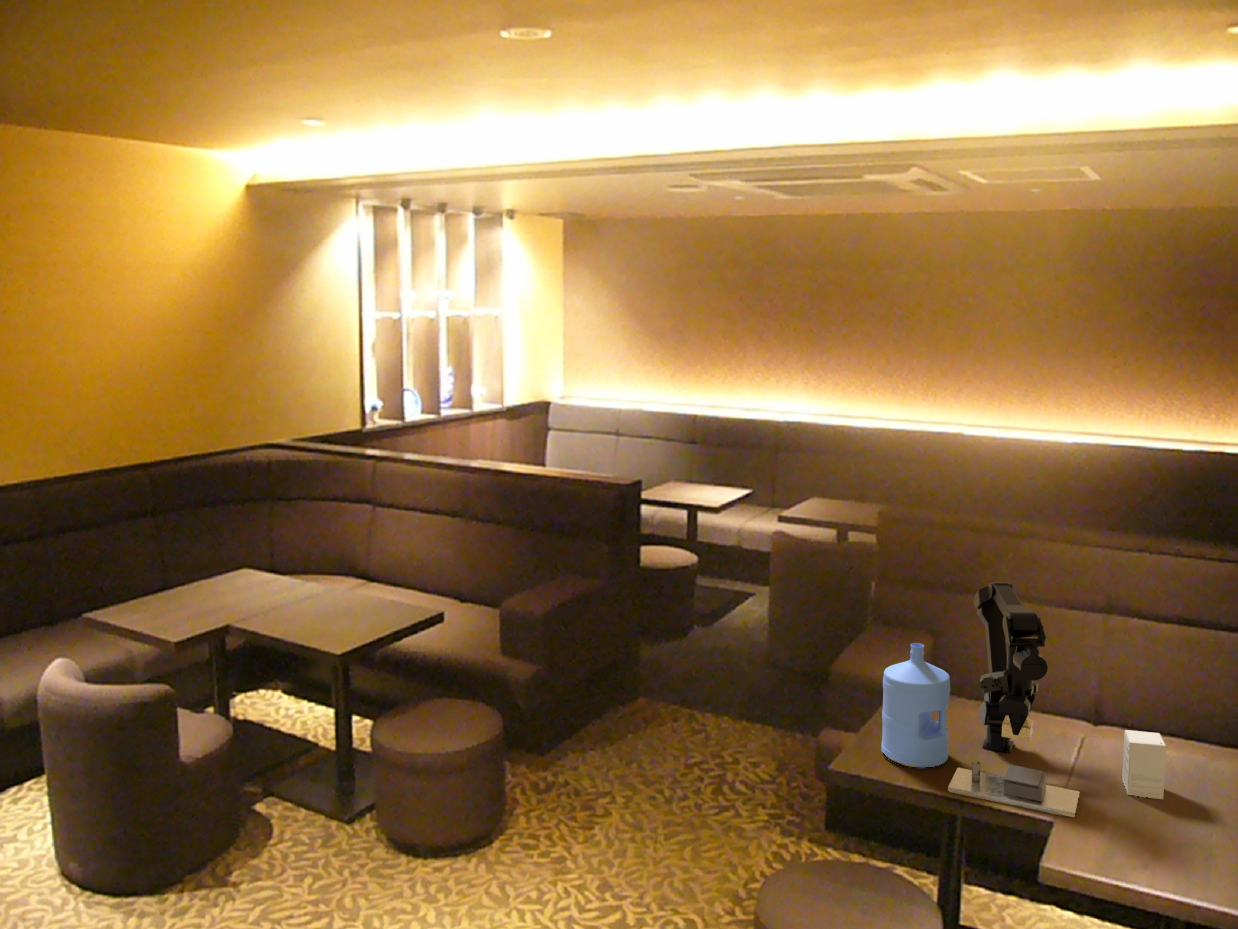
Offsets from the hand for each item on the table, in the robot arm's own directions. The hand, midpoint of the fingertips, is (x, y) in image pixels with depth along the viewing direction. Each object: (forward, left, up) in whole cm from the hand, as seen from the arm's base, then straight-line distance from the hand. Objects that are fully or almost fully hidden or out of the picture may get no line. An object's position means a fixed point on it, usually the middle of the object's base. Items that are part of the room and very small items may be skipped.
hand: (1017, 730), depth 228 cm
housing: (+11, +3, -9) cm, 15 cm away
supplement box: (-4, +26, -11) cm, 28 cm away
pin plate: (+11, +1, -11) cm, 15 cm away
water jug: (+1, -23, -11) cm, 26 cm away
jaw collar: (0, 0, -1) cm, 1 cm away
